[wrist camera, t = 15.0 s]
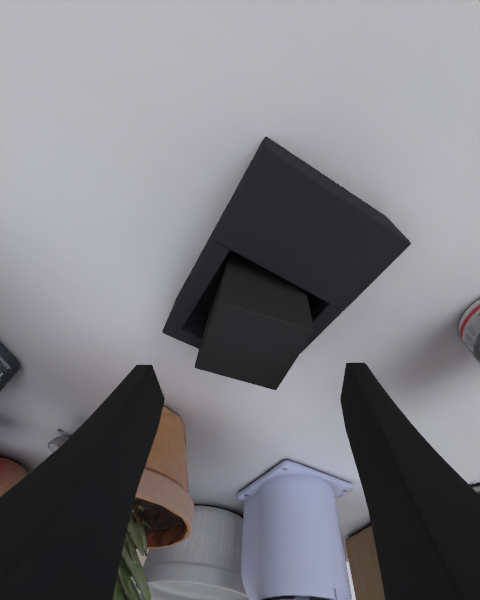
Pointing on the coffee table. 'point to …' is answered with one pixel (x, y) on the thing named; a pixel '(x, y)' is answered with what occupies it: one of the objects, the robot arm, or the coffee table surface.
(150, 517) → the potted plant
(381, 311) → the coffee table surface
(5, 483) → the fruit
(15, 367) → the small box
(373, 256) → the pad
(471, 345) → the pill bottle
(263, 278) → the matte black cube
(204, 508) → the ramekin
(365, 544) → the wooden block
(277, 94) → the coffee table surface
